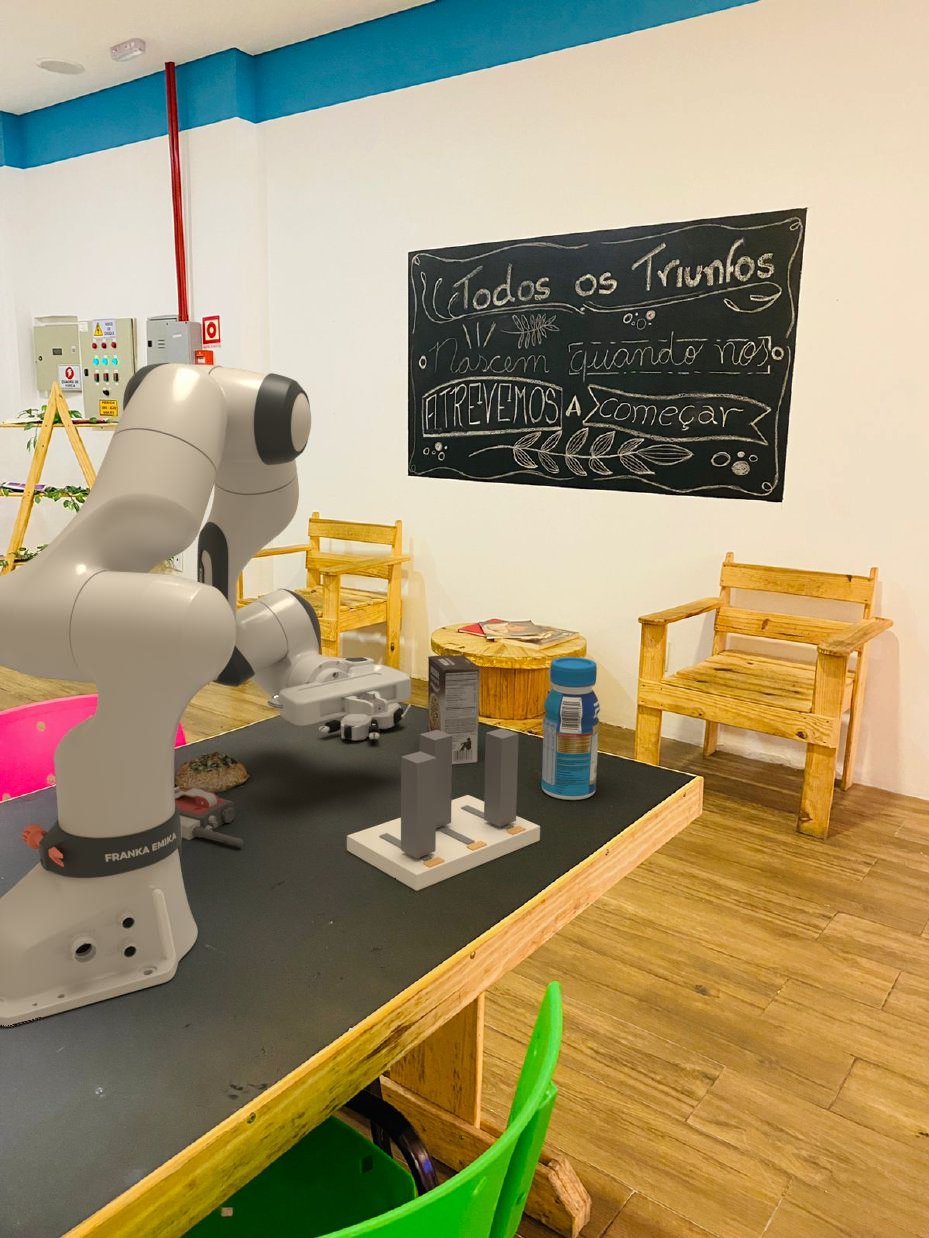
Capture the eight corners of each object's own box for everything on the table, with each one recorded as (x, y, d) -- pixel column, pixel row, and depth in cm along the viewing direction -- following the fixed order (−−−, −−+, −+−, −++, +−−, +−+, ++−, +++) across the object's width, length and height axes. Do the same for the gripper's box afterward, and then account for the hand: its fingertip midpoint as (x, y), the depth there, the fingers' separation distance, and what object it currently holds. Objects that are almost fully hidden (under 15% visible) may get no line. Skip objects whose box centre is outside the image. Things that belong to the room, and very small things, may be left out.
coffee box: (426, 747, 156) (427, 655, 153) (462, 744, 158) (464, 653, 155) (441, 766, 148) (442, 668, 145) (479, 762, 150) (481, 666, 147)
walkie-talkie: (121, 824, 125) (237, 856, 116) (119, 794, 124) (235, 823, 116) (169, 802, 133) (280, 830, 124) (167, 773, 132) (279, 799, 123)
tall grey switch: (416, 858, 110) (417, 763, 108) (400, 850, 112) (401, 756, 110) (435, 851, 112) (436, 757, 110) (419, 843, 114) (420, 751, 112)
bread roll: (198, 764, 147) (200, 735, 146) (260, 781, 144) (263, 752, 143) (157, 792, 137) (159, 761, 135) (223, 811, 134) (226, 780, 133)
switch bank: (416, 890, 108) (416, 873, 107) (346, 850, 118) (346, 834, 117) (539, 840, 121) (540, 824, 121) (467, 807, 132) (468, 793, 131)
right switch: (499, 826, 119) (502, 738, 117) (483, 819, 122) (485, 732, 119) (516, 820, 121) (518, 733, 119) (500, 813, 124) (502, 728, 121)
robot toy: (379, 754, 156) (412, 722, 169) (378, 729, 154) (412, 699, 168) (314, 745, 160) (352, 715, 173) (313, 721, 158) (351, 692, 172)
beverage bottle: (528, 789, 139) (532, 660, 135) (566, 776, 144) (571, 652, 140) (570, 806, 133) (576, 672, 129) (608, 792, 138) (614, 663, 134)
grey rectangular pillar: (433, 829, 118) (434, 740, 116) (418, 821, 121) (419, 734, 118) (451, 822, 120) (452, 735, 118) (436, 815, 123) (437, 729, 120)
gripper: (260, 678, 129) (315, 701, 120) (377, 655, 143) (435, 673, 133) (262, 721, 131) (316, 747, 121) (377, 694, 144) (434, 715, 134)
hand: (379, 708), depth 127 cm, fingers closed
